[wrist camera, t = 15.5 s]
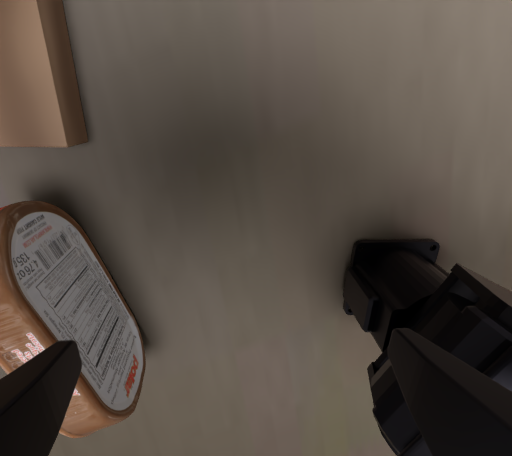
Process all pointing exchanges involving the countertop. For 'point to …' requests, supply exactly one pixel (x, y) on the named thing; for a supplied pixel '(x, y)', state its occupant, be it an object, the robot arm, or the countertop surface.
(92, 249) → the tin
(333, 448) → the countertop surface
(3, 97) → the shelf board
